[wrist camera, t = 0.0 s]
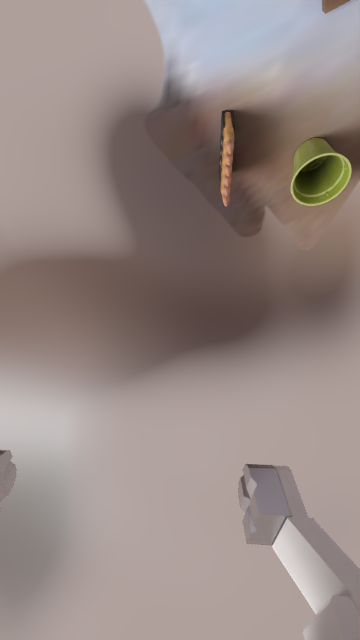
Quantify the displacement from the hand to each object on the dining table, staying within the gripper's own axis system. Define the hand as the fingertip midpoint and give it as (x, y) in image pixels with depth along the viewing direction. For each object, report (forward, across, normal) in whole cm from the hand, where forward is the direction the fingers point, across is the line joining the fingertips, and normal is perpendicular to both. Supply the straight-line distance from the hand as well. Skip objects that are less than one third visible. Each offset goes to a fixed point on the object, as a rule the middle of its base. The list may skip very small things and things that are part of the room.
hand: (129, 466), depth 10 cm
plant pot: (+55, -25, -13) cm, 62 cm away
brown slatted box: (+55, -9, -13) cm, 57 cm away
